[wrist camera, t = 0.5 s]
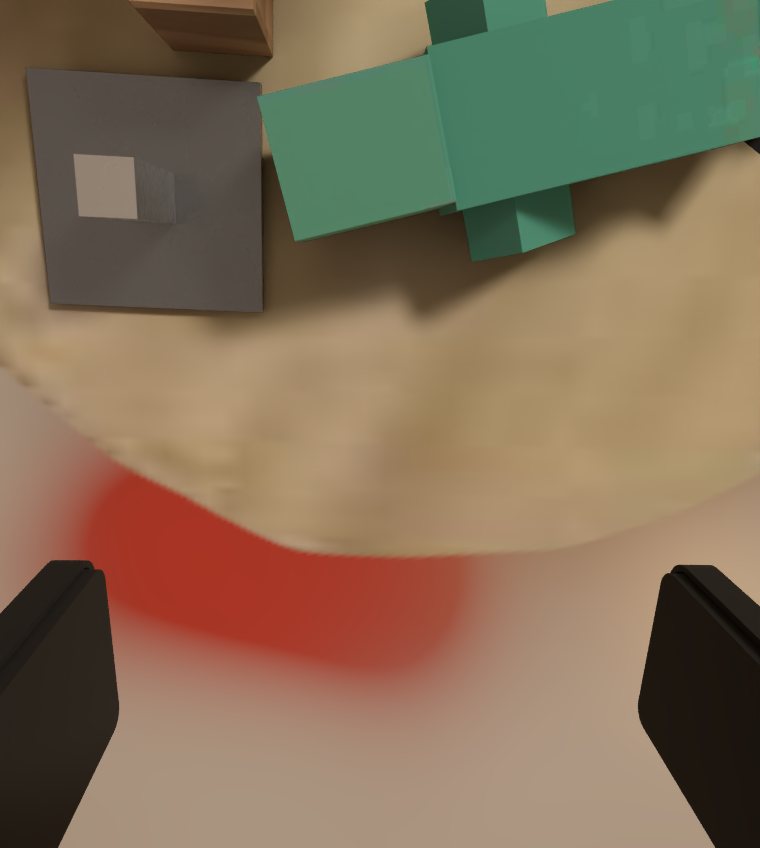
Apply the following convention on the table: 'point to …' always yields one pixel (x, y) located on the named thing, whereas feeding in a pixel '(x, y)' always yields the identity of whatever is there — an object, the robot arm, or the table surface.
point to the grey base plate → (149, 189)
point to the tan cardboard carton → (212, 25)
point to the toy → (515, 115)
